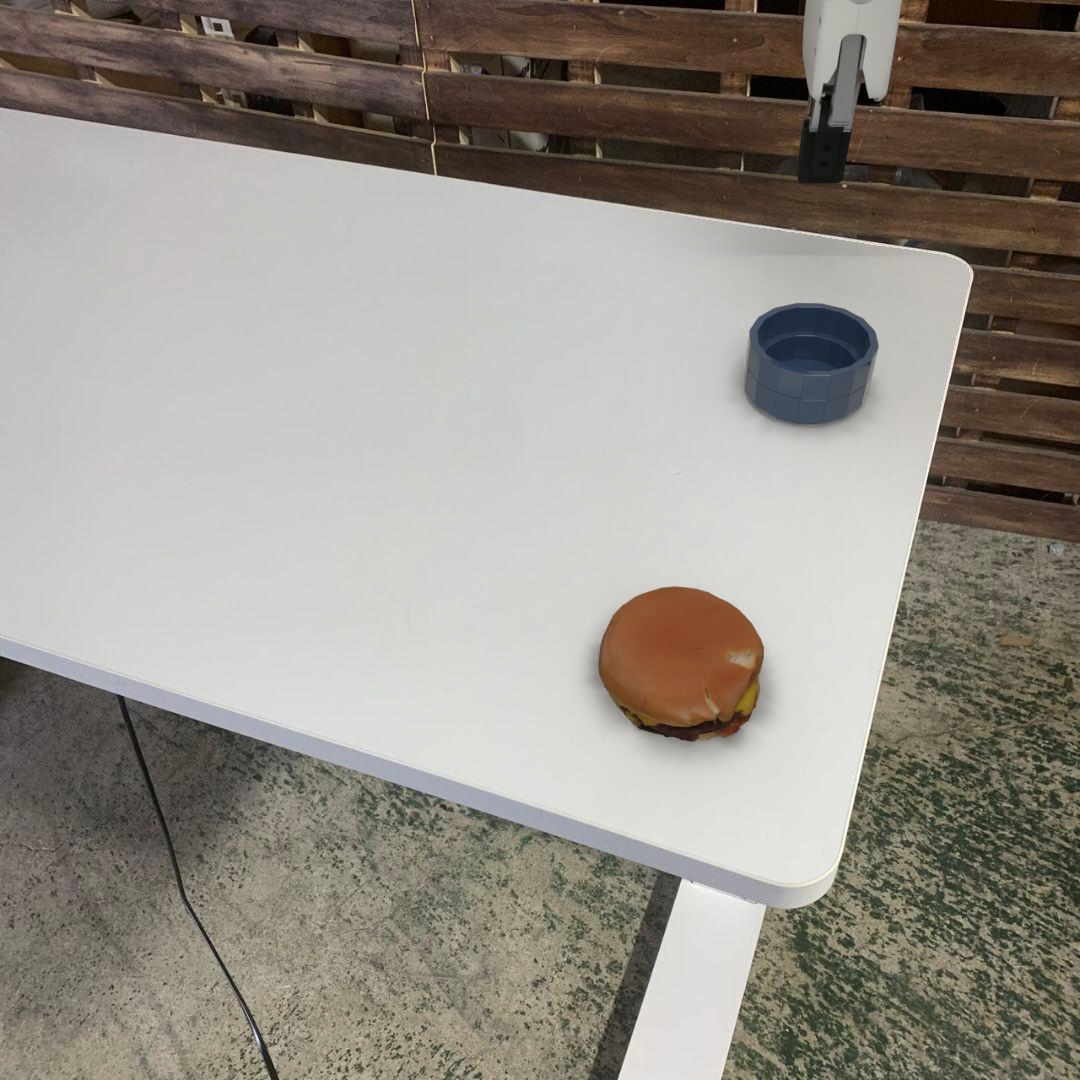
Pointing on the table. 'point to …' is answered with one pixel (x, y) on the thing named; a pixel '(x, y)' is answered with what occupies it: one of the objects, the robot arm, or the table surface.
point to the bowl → (810, 362)
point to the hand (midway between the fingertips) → (818, 177)
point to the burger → (682, 663)
